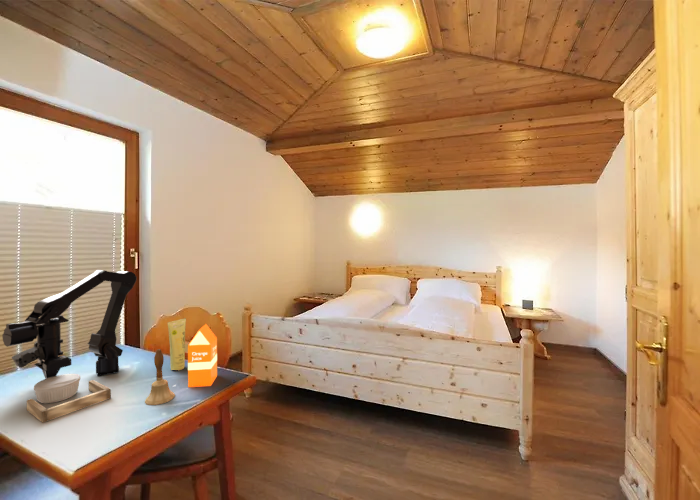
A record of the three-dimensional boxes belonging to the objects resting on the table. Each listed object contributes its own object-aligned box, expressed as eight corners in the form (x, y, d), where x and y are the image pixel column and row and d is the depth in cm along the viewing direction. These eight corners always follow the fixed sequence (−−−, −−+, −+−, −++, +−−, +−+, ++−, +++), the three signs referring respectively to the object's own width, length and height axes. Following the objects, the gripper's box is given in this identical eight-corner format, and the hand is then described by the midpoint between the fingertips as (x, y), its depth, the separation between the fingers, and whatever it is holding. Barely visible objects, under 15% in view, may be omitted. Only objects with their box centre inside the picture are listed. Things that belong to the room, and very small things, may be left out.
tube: (182, 371, 124) (181, 321, 124) (167, 372, 123) (167, 322, 122) (186, 365, 130) (185, 318, 129) (172, 366, 128) (172, 318, 128)
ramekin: (51, 407, 96) (50, 390, 96) (24, 403, 99) (24, 386, 99) (89, 390, 107) (89, 375, 107) (64, 387, 110) (64, 372, 110)
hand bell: (143, 407, 97) (142, 355, 96) (146, 396, 104) (145, 347, 104) (174, 401, 100) (174, 351, 100) (175, 390, 108) (174, 344, 107)
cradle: (93, 388, 109) (93, 380, 109) (110, 398, 102) (110, 388, 102) (26, 410, 95) (26, 400, 95) (42, 422, 88) (42, 412, 88)
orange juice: (217, 375, 120) (217, 322, 120) (211, 385, 112) (210, 329, 111) (195, 376, 119) (195, 323, 119) (187, 387, 110) (186, 330, 110)
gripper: (6, 339, 104) (7, 386, 105) (24, 349, 95) (25, 401, 95) (51, 331, 114) (51, 374, 114) (71, 340, 104) (72, 387, 105)
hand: (49, 383), depth 107 cm, fingers closed
